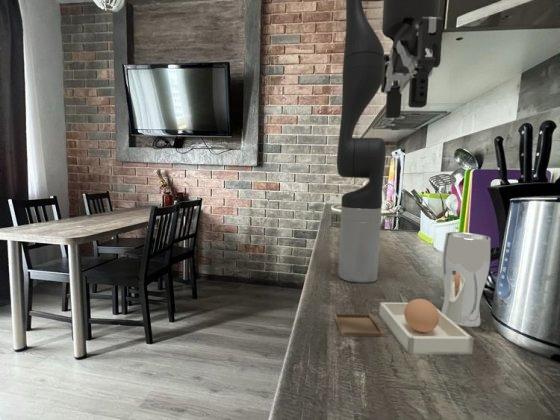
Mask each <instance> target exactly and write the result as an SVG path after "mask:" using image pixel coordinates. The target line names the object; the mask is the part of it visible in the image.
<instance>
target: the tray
mask: <svg viewBox="0 0 560 420" xmlns="http://www.w3.org/2000/svg"><path fill="white" fill-rule="evenodd" d="M408 303H409V302H384V301H383V302H379V308H378V309H379V310H378V315H379V317H380V319H381V320H382V321H383V323H384V324H385V325H386V327H387V328H388V329H389V331H390V332H391V333H392V334H393V336H394V337H395V339H396V340H397V341H398V342H399V343H400V345H401V346H402V348H403V349H404V350H405V351H406V353H407V354H408V355H462V356H463V355H467V356H468V355H472V356H473V351H474V340H475V338H474V337H472V336H471V335H470V334H469V333H467V332H466V331H465V329H462V328H461V327H460V325H457V324H455V323H454V322H453V321H452V320H450V319H449V318H448V317H447V316H446V315H444V314H443V313H442V312H441V310H440V309H438V308H437V307H436V309H437V311H438V313H439V322H438V324H437V326H436V327H435V328H434V329H433V330H431V331H429V332H419V331H416V330H414V329H413V328H411V327H410V326H409V325H408V323H407V322H406V320H405V316H404V311H405V307H406V305H407V304H408Z"/></svg>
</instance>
